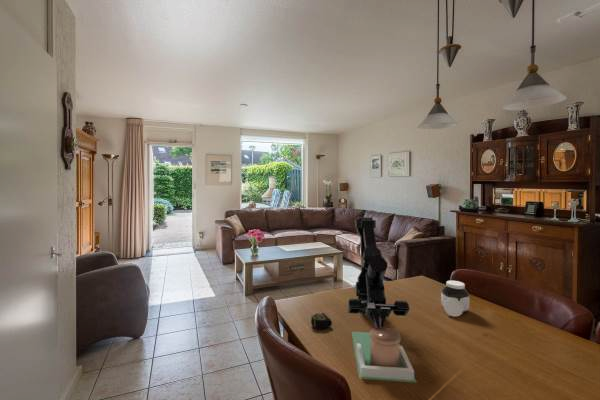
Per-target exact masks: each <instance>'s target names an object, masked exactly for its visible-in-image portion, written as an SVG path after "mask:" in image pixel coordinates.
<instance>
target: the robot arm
mask: <svg viewBox="0 0 600 400" xmlns="http://www.w3.org/2000/svg"><path fill="white" fill-rule="evenodd" d="M354 227H355V229H356V233H357V235H358V236H359V238H360V273H359V275H358V276H357V281H356V282H355V286H354V289H355V290H354V292H355V297H357V298H350V299H348V302H347V313H349V314H357V315H358V314H359V313H360V312H361V313H365V316H366V317H369V318H370V319H371V321H372V322H373V325H374V328H377V327H385V322H386V318H389V317H390V315H391V312H392V313H393V314H394V315H395V316H398V317H399V316H401V317H405V316H407V315H408V313H409V311H410V305H409V302H408V301H406V300H394V302H393V303H387V298H386V292H385V284H384V278H385V275H386V273H387V270H388V262H387V260H386V259H385V257H383V255H382V251H381V250H380V249H379V248H378V246H377V242H376V241H377V240H376V234H375V229H377V220H376V219H373V217H370V216H369V217H367V216H366V217H365V216H364V217H361V216H358V217H357V219H354Z"/></svg>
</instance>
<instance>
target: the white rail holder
mask: <svg viewBox="0 0 600 400" xmlns="http://www.w3.org/2000/svg"><path fill="white" fill-rule="evenodd" d="M357 357H358V362H359V368H360V374H361V377H371V378H386V379H400V380H414V377H415V369H414V368H413V366H412V364H411V361H410V359H409V357H408V355H407V352H406V351H405V349H404V347H403V345H400V346H399V357H400V359H401V361H402V364H403V366H404V368H398V367H382V366H366V365H365V362H364V358H363V353H362V348H361V344H359V343H357Z"/></svg>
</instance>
